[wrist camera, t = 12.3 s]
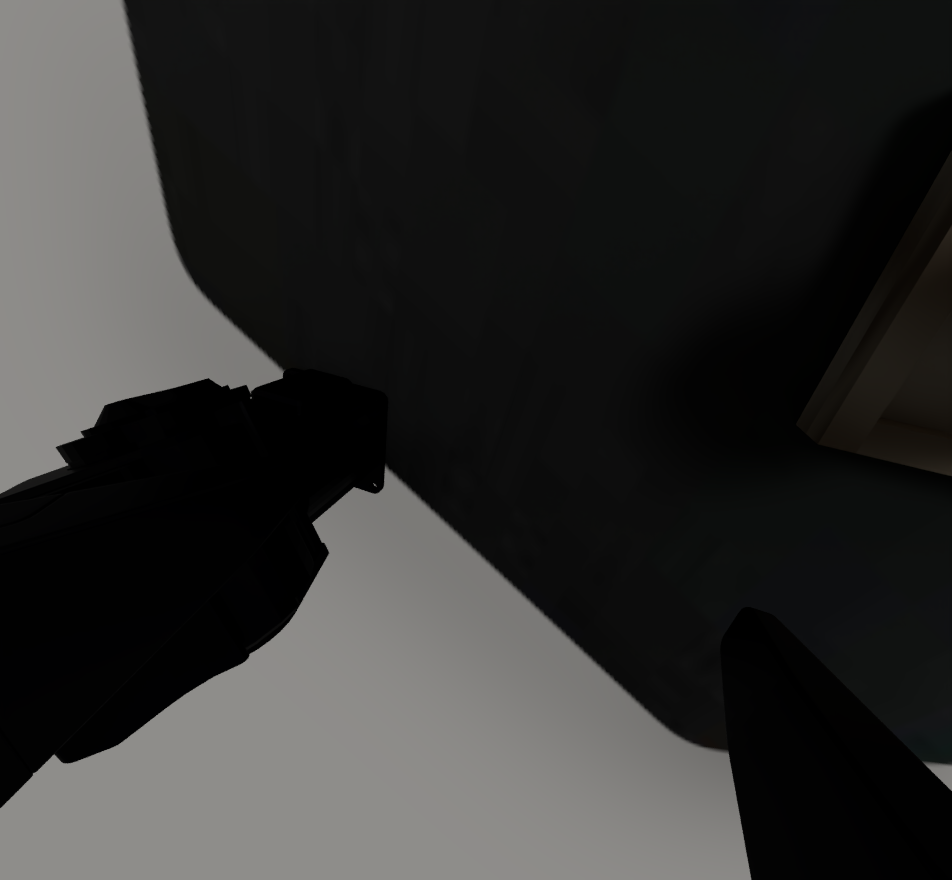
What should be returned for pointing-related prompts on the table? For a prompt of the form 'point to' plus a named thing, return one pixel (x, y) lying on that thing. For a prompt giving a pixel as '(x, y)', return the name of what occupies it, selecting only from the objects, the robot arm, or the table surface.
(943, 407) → the birch stand
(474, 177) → the table surface
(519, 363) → the table surface
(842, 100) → the table surface
